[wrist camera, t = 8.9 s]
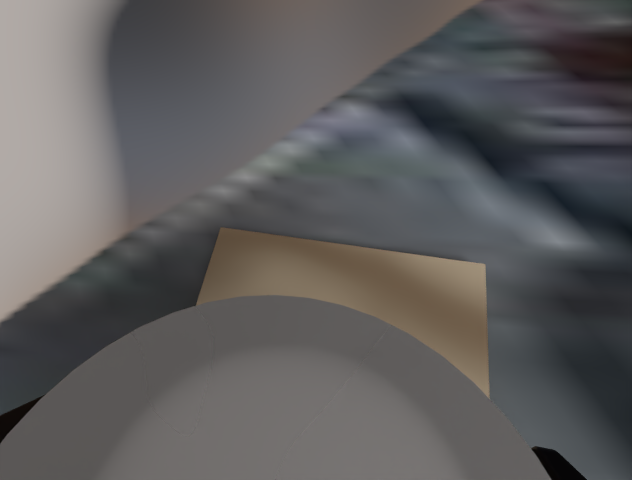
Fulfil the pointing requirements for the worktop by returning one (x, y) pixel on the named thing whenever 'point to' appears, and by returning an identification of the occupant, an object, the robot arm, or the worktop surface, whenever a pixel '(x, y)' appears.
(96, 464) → the steel tube
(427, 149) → the worktop surface
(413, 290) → the oak base board
